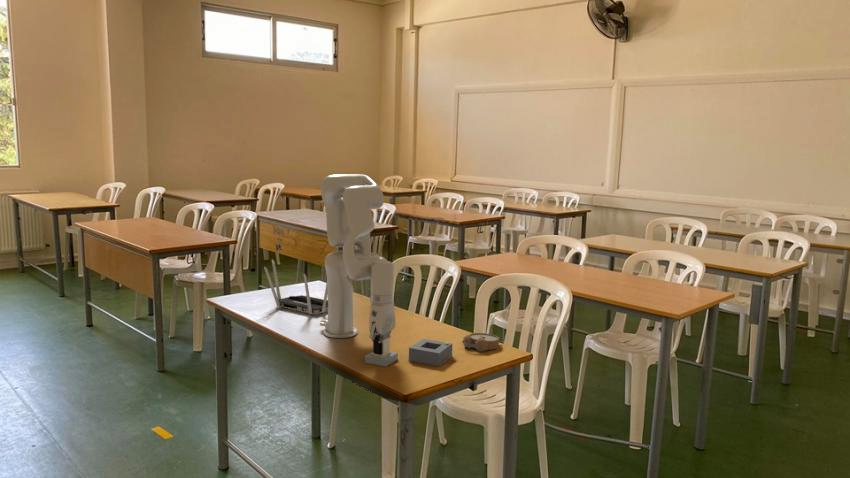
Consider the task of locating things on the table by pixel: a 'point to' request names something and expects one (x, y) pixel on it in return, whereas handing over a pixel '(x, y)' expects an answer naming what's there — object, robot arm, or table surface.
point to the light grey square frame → (381, 359)
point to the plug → (384, 345)
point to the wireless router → (298, 298)
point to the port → (430, 352)
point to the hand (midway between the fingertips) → (381, 351)
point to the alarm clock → (481, 341)
